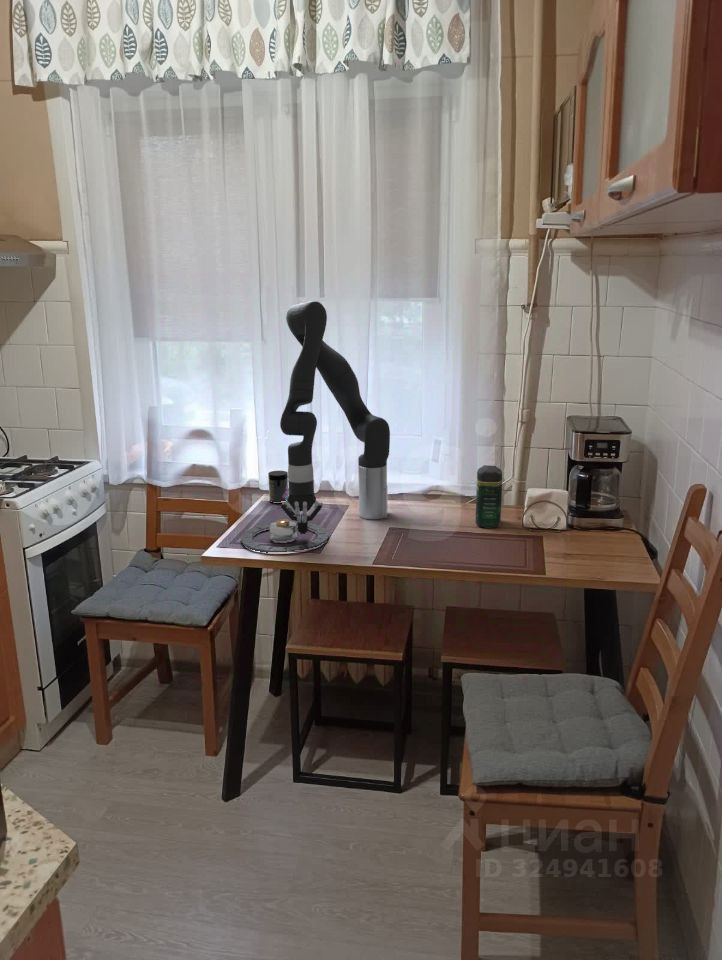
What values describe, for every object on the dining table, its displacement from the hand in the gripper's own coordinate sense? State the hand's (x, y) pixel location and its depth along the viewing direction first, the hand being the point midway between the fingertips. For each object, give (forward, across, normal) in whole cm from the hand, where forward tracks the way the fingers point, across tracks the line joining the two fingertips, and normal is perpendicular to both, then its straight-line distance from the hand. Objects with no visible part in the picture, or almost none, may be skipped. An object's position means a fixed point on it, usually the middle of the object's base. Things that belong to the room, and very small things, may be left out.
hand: (303, 533), depth 238 cm
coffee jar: (+2, -56, -17) cm, 59 cm away
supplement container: (+2, +15, -38) cm, 41 cm away
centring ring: (+2, +6, 0) cm, 6 cm away
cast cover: (+2, +6, 0) cm, 6 cm away
